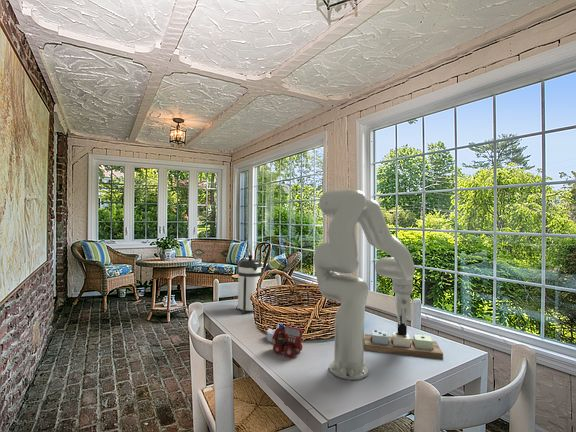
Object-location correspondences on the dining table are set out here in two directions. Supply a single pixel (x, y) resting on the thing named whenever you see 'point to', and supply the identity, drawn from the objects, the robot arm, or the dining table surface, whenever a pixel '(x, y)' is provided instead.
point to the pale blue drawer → (379, 337)
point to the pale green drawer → (423, 341)
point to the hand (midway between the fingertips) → (402, 334)
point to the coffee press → (247, 282)
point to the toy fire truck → (287, 340)
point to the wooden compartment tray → (402, 348)
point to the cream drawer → (401, 339)
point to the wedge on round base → (271, 333)
